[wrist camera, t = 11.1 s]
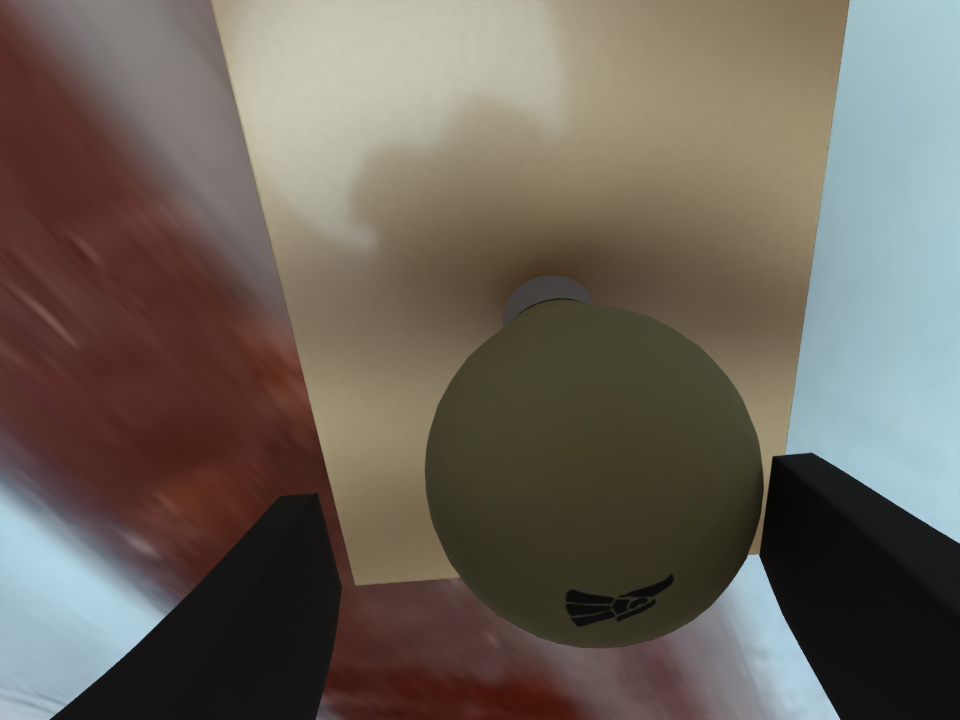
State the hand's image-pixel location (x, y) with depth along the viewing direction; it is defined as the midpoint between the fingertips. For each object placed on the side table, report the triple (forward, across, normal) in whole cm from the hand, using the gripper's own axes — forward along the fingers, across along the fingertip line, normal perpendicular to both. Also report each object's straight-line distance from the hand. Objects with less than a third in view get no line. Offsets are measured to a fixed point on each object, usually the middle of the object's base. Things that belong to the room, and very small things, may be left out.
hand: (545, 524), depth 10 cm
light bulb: (+8, -1, 0) cm, 8 cm away
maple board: (+10, -1, 0) cm, 10 cm away
